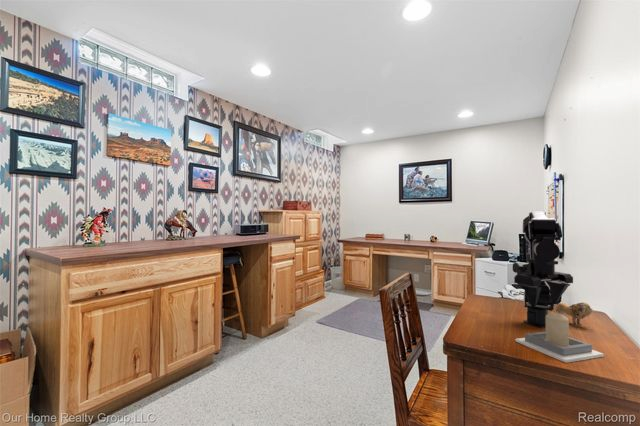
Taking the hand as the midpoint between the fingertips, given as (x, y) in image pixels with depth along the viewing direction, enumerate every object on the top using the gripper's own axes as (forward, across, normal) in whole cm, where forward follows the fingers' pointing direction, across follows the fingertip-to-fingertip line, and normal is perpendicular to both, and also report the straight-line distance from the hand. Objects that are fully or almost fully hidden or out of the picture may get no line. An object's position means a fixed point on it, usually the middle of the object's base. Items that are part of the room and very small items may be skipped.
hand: (543, 305), depth 95 cm
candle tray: (+12, +1, +5) cm, 13 cm away
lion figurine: (+12, -30, -11) cm, 34 cm away
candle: (+11, +1, +5) cm, 12 cm away
